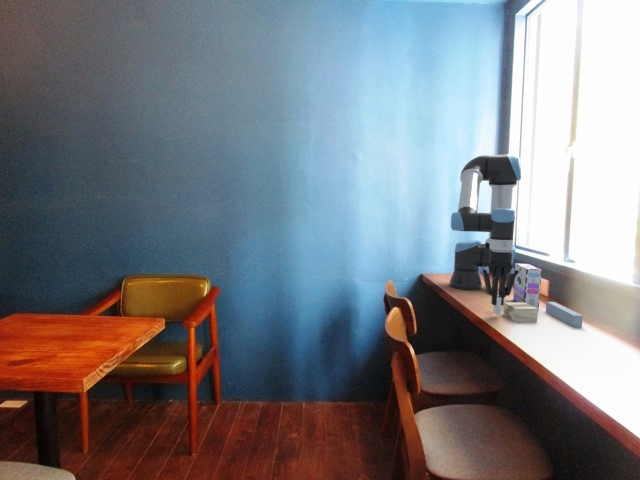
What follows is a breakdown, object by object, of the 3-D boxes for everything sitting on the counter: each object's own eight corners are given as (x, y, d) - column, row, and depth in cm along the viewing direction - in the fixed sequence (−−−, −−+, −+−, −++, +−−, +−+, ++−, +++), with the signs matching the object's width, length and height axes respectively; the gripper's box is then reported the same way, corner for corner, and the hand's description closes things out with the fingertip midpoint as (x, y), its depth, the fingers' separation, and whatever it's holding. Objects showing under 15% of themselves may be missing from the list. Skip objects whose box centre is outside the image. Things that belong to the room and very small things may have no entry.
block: (503, 315, 137) (504, 302, 136) (524, 315, 137) (524, 302, 136) (514, 322, 129) (515, 308, 128) (536, 322, 129) (537, 308, 128)
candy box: (539, 309, 144) (542, 269, 142) (523, 308, 145) (526, 268, 143) (527, 300, 157) (529, 263, 155) (512, 299, 158) (514, 262, 156)
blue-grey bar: (545, 311, 141) (546, 301, 140) (553, 311, 141) (554, 301, 140) (572, 326, 124) (573, 315, 123) (581, 326, 124) (582, 315, 123)
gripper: (486, 251, 128) (482, 316, 130) (524, 252, 127) (519, 317, 129) (478, 249, 135) (475, 310, 138) (514, 249, 134) (510, 311, 137)
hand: (496, 313), depth 133 cm, fingers closed
